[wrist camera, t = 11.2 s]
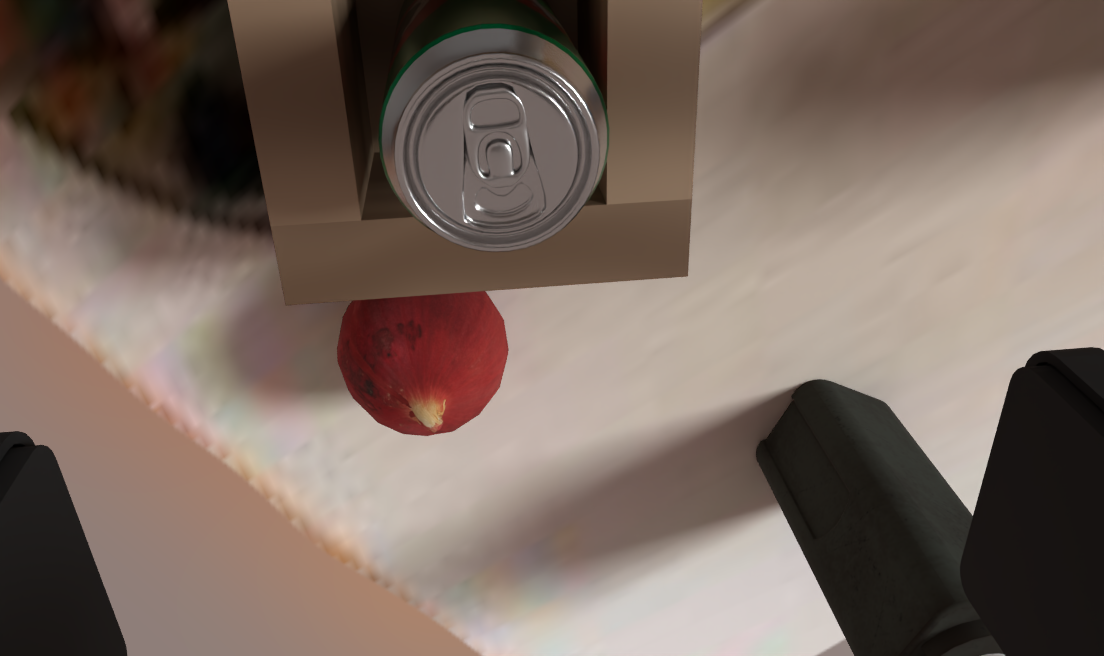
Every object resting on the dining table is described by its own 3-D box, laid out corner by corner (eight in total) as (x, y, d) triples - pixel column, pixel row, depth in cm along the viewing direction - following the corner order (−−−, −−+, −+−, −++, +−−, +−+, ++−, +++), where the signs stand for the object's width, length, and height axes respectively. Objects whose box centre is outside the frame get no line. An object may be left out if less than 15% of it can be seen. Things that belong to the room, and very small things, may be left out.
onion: (337, 351, 36) (313, 480, 29) (359, 216, 33) (339, 323, 26) (483, 374, 37) (493, 503, 30) (515, 246, 34) (535, 355, 27)
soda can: (411, 124, 30) (399, 283, 20) (382, -36, 28) (352, 50, 18) (560, 105, 31) (624, 252, 20) (545, -56, 28) (610, 19, 18)
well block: (251, -165, 27) (196, -160, 21) (652, -177, 28) (711, -175, 22) (314, 214, 33) (285, 305, 27) (642, 193, 34) (687, 276, 28)
